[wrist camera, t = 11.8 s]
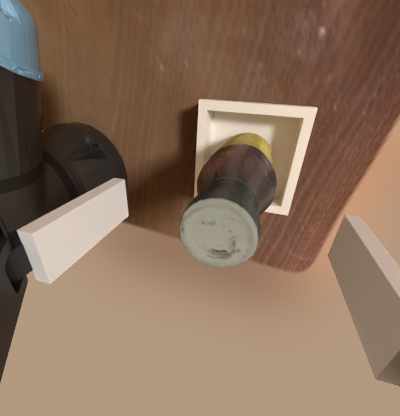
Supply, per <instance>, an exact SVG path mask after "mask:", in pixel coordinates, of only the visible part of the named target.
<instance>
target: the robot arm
mask: <svg viewBox="0 0 400 416" xmlns="http://www.w3.org/2000/svg"><path fill="white" fill-rule="evenodd" d="M43 80H44V74H43V72H42V70H41V67H40V54H39V41H38V31H37V27H36V24H35V21H34V19H33V17H32V15H31V14H30V12H29V11H28V10H27V8H26V7H25V6H24V5H23V4H22V3H21V2H20V1H19V0H0V381H1V378H2V374H3V371H4V367H5V363H6V359H7V356H8V352H9V349H10V345H11V341H12V337H13V334H14V330H15V326H16V323H17V319H18V316H19V312H20V308H21V305H22V301H23V297H24V293H25V290H26V286H27V283H28V279H27V276H26V275H27V274H28V273H29V272H30V271H32V270H33V273H34V275H35V278H36V280H38V281H41V282H45V283H48V284H51V283H52V282H53V281H54V280H55V279H56V278H58V277H59V276H60V275H61V274H62V273H63V272H65V271H66V270H67V269H68V268H69V267H70V266H71V265H73V264H74V263H75V262H76V261H77V260H78V259H80V258H81V257H82V256H83V255H84V254H85V253H86V252H88V251H89V250H90V249H91V248H92V247H93V246H95V244H97V243H98V242H99V241H100V240H101V239H103V238H104V237H105V236H106V235H107V234H108V233H109V232H111V231H112V230H113V229H114V228H115V227H116V226H118V224H120V223H121V222H122V221H123V220H124V219H126V218H127V217H128V216H129V214H128V205H127V195H126V188H127V175H126V170H125V166H124V163H123V161H122V158H121V156H120V154H119V153H118V151H117V149H116V148H115V147H114V145H113V144H112V143H111V142H110V140H109V139H108V138H107V137H106V136H104V135H103V134H102V133H101V132H99V131H98V130H96V129H95V128H93V127H91V126H89V125H86V124H83V123H76V122H72V123H64V124H58V125H55V126H52V127H50V128H48V129H47V130H45V131H44V132H42V102H41V81H43ZM328 257H329V259H330V262H331V265H332V267H333V270H334V272H335V275H336V277H337V280H338V283H339V285H340V288H341V291H342V293H343V296H344V298H345V301H346V303H347V306H348V308H349V311H350V314H351V316H352V319H353V322H354V324H355V327H356V329H357V332H358V334H359V337H360V340H361V342H362V345H363V348H364V350H365V353H366V355H367V358H368V360H369V363H370V366H371V368H372V371H373V373H374V376H375V378H376V379H377V380H381V381H384V382H388V383H391V384H394V385H398V386H400V267H399V266H398V265H397V263H396V262H395V261H394V259H393V258H392V257H391V255H390V254H389V253H388V252H387V250H386V249H385V248H384V247H383V245H382V244H381V243H380V241H379V240H378V239H377V237H376V236H375V235H374V234H373V232H372V231H371V230H370V229H369V227H368V226H367V225H366V224H365V222H364V221H363V220H362V218H361V217H357V216H350V215H344V218H343V220H342V222H341V225H340V227H339V230H338V232H337V234H336V237H335V239H334V242H333V244H332V246H331V249H330V251H329V254H328Z"/></svg>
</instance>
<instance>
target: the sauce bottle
mask: <svg viewBox="0 0 400 416" xmlns="http://www.w3.org/2000/svg"><path fill="white" fill-rule="evenodd" d="M276 190H277V178H276V172H275V164H274V159H273V153H272V149H271V147H270V145H269V143H268V142H267V141H266V140H265V139H264V138H262V137H261V136H259V135H257V134H254V133H249V132H247V133H241V134H238V135H236V136H234V137H232V138H231V139H230V140H229V141H227V142H226V143H225V144H224V145H223V146H222V147H221V148H219V149H218V150H217V151H216V152H215V153H214V154H213V155H212V156H211V157H210V158H209V160H208V161H207V162H206V163H205V164H204V166H203V167H202V169H201V172H200V173H199V176H198V178H197V194H198V195H197V196H196V197H195V198H194V199H193V200H192V201H191V202H190V204H189V205H188V206H187V208H186V210H185V211H184V213H183V214H182V217H181V220H180V225H179V234H180V238H181V241H182V243H183V244H184V245H185V247H186V249H187V250H188V252H189V253H190V254H191V255H192V256H193V257H194V258H196V259H197V260H199V261H200V262H202V263H204V264H206V265H209V266H213V267H218V268H224V267H232V266H236V265H238V264H241V263H243V262H245V261H247V260H248V259H249V258H250V257H251V256H252V255H253V254H254V253H255V251H256V249H257V247H258V242H259V236H260V230H261V225H260V219H259V215H261V214H262V213H263V212H264V211H265V210H266V209H267V208H268V207H269V206H270V205H271V203H272V202H273V200H274V197H275V195H276Z"/></svg>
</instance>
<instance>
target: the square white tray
mask: <svg viewBox="0 0 400 416" xmlns="http://www.w3.org/2000/svg"><path fill="white" fill-rule="evenodd" d="M317 109H318V108H316V107H312V106H299V105H284V104H270V103H256V102H242V101H228V100H214V99H199V106H198V126H197V146H196V166H195V186H194V198H195V197H196V196H197V195H198V194H197V178H198V176H199V173H200V172H201V169H202V167H203V166H204V164H205V163H206V162H207V161H208V160H209V158H210V157H211V156H212V155H213V154H214V153H215V152H216V151H217V150H218V149H219V148H221V147H222V146H223V145H224V144H225V143H226V142H227V141H229V140H230V139H231V138H232V137H234V136H236V135H238V134H241V133H247V132H249V133H254V134H257V135H259V136H261V137H262V138H264V139H265V140H266V141H267V142H268V143H269V145H270V147H271V149H272V153H273V159H274V164H275V172H276V178H277V190H276V195H275V197H274V200H273V202H272V203H271V205H270V206H269V207H268V208H267V209H266V210H265V212H270V213H276V214H282V215H288V213H289V209H290V206H291V202H292V199H293V195H294V191H295V188H296V184H297V181H298V177H299V174H300V170H301V166H302V163H303V159H304V156H305V152H306V148H307V145H308V141H309V138H310V134H311V130H312V127H313V123H314V120H315V116H316V112H317Z"/></svg>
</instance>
